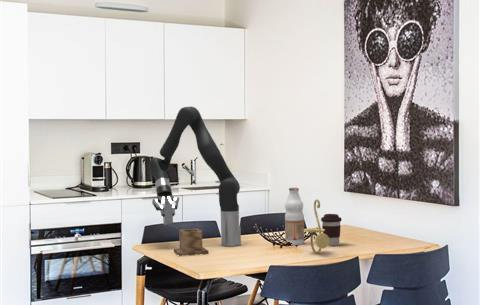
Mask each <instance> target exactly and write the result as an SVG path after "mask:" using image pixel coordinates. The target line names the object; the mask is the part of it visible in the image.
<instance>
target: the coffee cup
mask: <svg viewBox="0 0 480 305" xmlns="http://www.w3.org/2000/svg"><path fill="white" fill-rule="evenodd" d="M320 222H321V223H322V224H321V227H322V228H321V229H325V231H323V232H322V233H324V234H326V235H327V236H328V237H329V244H328V246H327V247H337V246H340V237H341V226H342V225H341V222H342V217H340V216H339V214H336V213H327V214H326V213H325V214H324V215H323V217H320Z"/></svg>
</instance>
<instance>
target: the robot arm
mask: <svg viewBox="0 0 480 305" xmlns="http://www.w3.org/2000/svg"><path fill="white" fill-rule="evenodd" d="M188 126H189V128H190V129H191V130H192V132H193V134H194V136H195V140H196V146H197V150H198V152H199V154H200V155H201V157H202V159H203V161H204V162H205V163H206V165H207V166H208V167H209V168H210V170H212V171H213V173H214V175H216V177H217V179H218V181H219V185H218V202H219V207H220V242H221V243H220V244H221V246H223V247H237V246H242V245H241V244H242V235H241V234H242V232H241V231H242V230H241V225H240V205H239V203H238V194H239V193H240V190H241V186H240V183H239V181H238V180H237V178H236V177H235V175H234V174H233V173H232V171H231V170H230V168H229V166H228V165H227V163H226V161H225V158H224V157H223V154H222V153H221V151H220V149H219V147H218V145H217V144H216V142H215V140H214V138H213V136H212V135H211V133H210V132H209V129H208V128H207V126H206V124H205V122H204V120H203V118H202V115H201V113H200V110H198V109H197V108H196V107H195V106H184V107H181V108H180V109H179V111H178V112H177V115H176V117H175V120H174V123H173V125H172V128H171V130H170V132H169V134H168V136H167V138H166V140H165V141H164V143H163V144H162V147H161V148H160V150H159V154H160V156H161V157H163V158H164V159H163V158H159V157H156V156H155V157H151V159H149V161H148V169H149V171H150V173H151V174H152V177H153V178H154V182H155V183H154V184H155V191H156V197H157V198H156V199H155V198H152V200H151V204H152V205H153V207H154V209H155V211H157V212H159V211H160V215H161V217H162V218H163V217H164V216H165V213H164V209H163V203H172V211H173V212H172V213H173V217H175V215H176V211H175V210H178V207H179V201H180V197H178V196H177V197H174V196H173V192H172V191H173V190H172V187H171V186H172V185H171V183H170V179H169V175H168V173H167V172H168V170H169V169H170V165H171V161H172V158H173V156H174V154H175V152H176V151H177V149H178V147H179V144H180V142H181V137H182V135H183V133H184V132H185V130H186V128H187V127H188ZM173 202H174V203H175V205H174V204H173ZM158 203H159V204H158Z"/></svg>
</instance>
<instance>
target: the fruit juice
mask: <svg viewBox="0 0 480 305" xmlns="http://www.w3.org/2000/svg"><path fill="white" fill-rule="evenodd" d="M288 191H289V194H288V196H287V199H286V201H285V203H284V204H285V205H284V209H285V214H284V226H285V227H284V228H285V230H284V232H285V234H284V236H285V237H284V238H285V240H286V241H287V242H290V243H292V244H291V246H299V245H300V246H301V245H304V244H305V231H304V230H305V219H304V218H305V215H304V212H303V209H304V203H303V201H302V200H301V197H300V193H299V191H300V188H299V187H289V188H288Z"/></svg>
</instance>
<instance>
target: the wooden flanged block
mask: <svg viewBox="0 0 480 305" xmlns="http://www.w3.org/2000/svg"><path fill="white" fill-rule="evenodd" d="M178 231H179V232H178V233H179V234H178V235H179V239H178V241H179V242H178V243H179V247H178V248H173V253H174V254H176V255H177V256H178V255H179V256H178V257H183V256H182V255H189V256H196V255H195V254H202V255H209V253H210V252H209V250H208V249H207V248H205V247H204V246H203V231H202V230H201V229H199V228H191V229H190V228H189V229H179V230H178Z"/></svg>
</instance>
